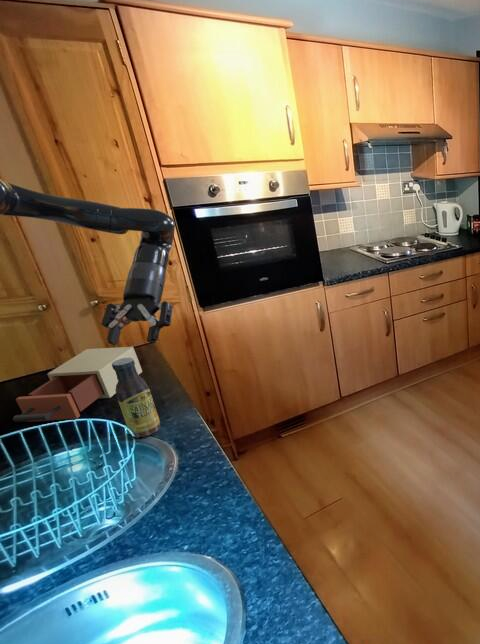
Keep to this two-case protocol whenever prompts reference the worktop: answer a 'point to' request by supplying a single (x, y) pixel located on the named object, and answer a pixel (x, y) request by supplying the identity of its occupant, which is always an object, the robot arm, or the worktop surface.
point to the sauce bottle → (135, 399)
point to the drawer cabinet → (98, 366)
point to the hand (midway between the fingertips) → (131, 343)
